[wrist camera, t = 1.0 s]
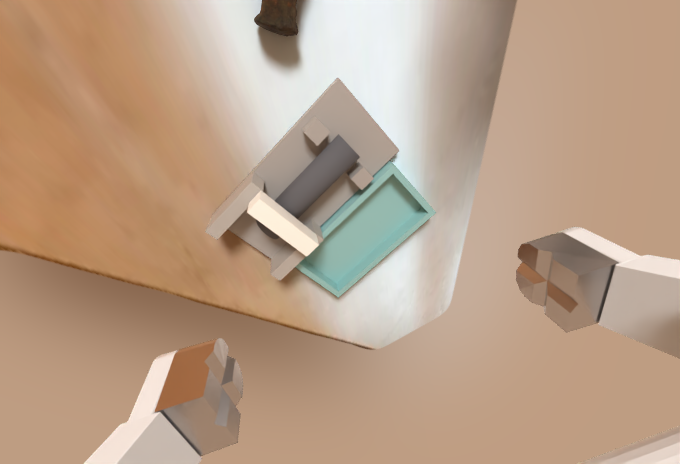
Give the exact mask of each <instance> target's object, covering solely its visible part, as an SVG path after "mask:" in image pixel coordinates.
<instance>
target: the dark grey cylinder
mask: <svg viewBox="0 0 680 464" xmlns="http://www.w3.org/2000/svg"><path fill="white" fill-rule="evenodd" d="M359 158H360V156H359V155H358V154H357V153H356V152H355V151H354V150H353V149H352V148H351V147H350V146H349V145H348V144H347V142H346V141H345V140H344V139H343V138H342V137H341V136H340V135H339V134H338V135H337V136H336V137H335V138H334V139H333V140H332V142H331V143H330V144H329V145H328V146H327V147H326V148H325V149H324V150H323V151H322V152H321V153H320V154H319V155H318V156H317V157H316V158H315V159H314V160H313V161H312V162H311V163H310V164H309V165H308V166H307V167H306V168H305V169H304V171H303V172H302V173H301V174H300V175H299V176H298V177H297V178H296V179H295V180H294V181H293V182H292V183H291V184H290V185H289V186H288V187H287V188H286V189H285V190H284V191H283V192H282V193H281V194H280V195H279V196H278V197H277V198H276V200H275V202H276V203H278V204H279V205H280V206H281V207H283V208H284V209H285V210H286V211H288V212H289V213H290V214H291V215H293V216H294V217H295V218H296V219H298V218H299V217H300V216H301V215H302V214H303V213H304V212H305V211H306V210H307V209H308V208H309V207H310V206H311V205H312V204H313V203H314V202H315V201H316V200H317V199H318V198H319V197H320V196H321V195H322V194H323V193H324V192H325V191H326V190H328V189H329V188H330V187H331V186H332V185H333V184H334V183H335V182H336V181H337V180H338V179H339V178H340V177H341V176H342V175H343V174H344V173H345V172H346V171H347V170H348V169H349V168H350V167H351V166H352V165H353V164H354V163H355V162H356V161H357V160H358V159H359ZM256 223H257V225H258V227H259V228H260V229H261V230H262V231H263V232H264V233H265V234H266V235H267V236H269V237H270V238H272V239H278V238H279V237H280V236H278V235H277V234H275V233H274V232H273V231H271V230H270V229H269V228H267V227H266V226H265V225H263V224H262V223H261V222H259V221H258V220H257V219H256Z"/></svg>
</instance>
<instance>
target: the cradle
mask: <svg viewBox="0 0 680 464" xmlns="http://www.w3.org/2000/svg"><path fill="white" fill-rule="evenodd" d="M338 134H339V135H340V136H341V137H342V138H343V139H344V140H345V141H346V142H347V144H348V145H349V146H350V147H351V148H352V149H353V150H354V151H355V152H356V153H357V154H358V155H359V156H360V158H359V159H358V160H357V161H356V162H355V163H354V164H353V165H352V166H351V167H350V168H349V169H348V170H347V171H346V172H345V173H344V174H343V175H342V176H341V177H340V178H339V179H338V180H337V181H336V182H335V183H334V184H333V185H332V186H331V187H330V188H329V189H328V190H326V191H325V192H324V193H323V194H322V195H321V196H320V197H319V198H318V199H317V200H316V201H315V202H314V203H313V204H312V205H311V206H310V207H309V208H308V209H307V210H306V211H305V212H304V213H303V214H302V215H301V216H300V217H299V218H298V220H299V221H300V222H301V223H303V224H304V225H305V226H306V227H308V228H309V229H310V230H311V231H313V232H314V233H315V234H316V235H317V239H318V243H319V244H320V243H321V242H322V241H323V240H324V239H323V235H322V231H321V228H320V226H321V225H322V224H323V223H324V222H325V221H326V220H328V219H329V218H330V217H331V216H332V215H333V214H334V213H335V212H336V211H337V210H338V209H339V208H340V207H341V206H342V205H343V204H344V203H345V202H346V201H347V200H348V199H349V198H350V197H351V196H353V195H354V194H355V193H356V192H357V191H358V190H359V189H361V190H363V189H364V188H365V187H366V186H367V185H368V184H369V183H370V182H371V181H372V180H373V179H374V178H373V175H374V174H375V173H376V172H378V171H379V170H380V169H381V168H382V167H383V166H384V165H385V164H386V163H387V162H388V161H389V160H390V159H391V158H392V157H393V156H394V155H395V154H396V153H397V152H398V151H399V149H398V148H397V147H396V146H395V144H394V143H393V142H392V141H391V140H390V139H389V137H388V136H387V135H386V134H385V133H384V131H383V130H382V129H381V128H380V127H379V125H378V124H377V123H376V122H375V121H374V120H373V118H372V117H371V116H370V115H369V114H368V112H367V111H366V110H365V109H364V108H363V106H362V105H361V104H360V103H359V102H358V100H357V99H356V98H355V97H354V96H353V95H352V93H351V92H350V91H349V90H348V89H347V87H346V86H345V85H344V84H343V83H342V81H341V80H340V79H339V78H337V79H336V80H335V81H334V82H333V83H332V84H331V85H330V86H329V87H328V88H327V89H326V91H325V92H324V93H323V94H322V95H321V96H320V97H319V98H318V99H317V100H316V102H315V103H314V104H313V105H312V106H311V107H310V108H309V109H308V110H307V111H306V112H305V114H304V115H303V116H302V117H301V118H300V119H299V120H298V121H297V122H296V123H295V124H294V126H293V127H292V128H291V129H290V130H289V131H288V132H287V133H286V134H285V135H284V137H283V138H282V139H281V140H280V141H279V142H278V143H277V144H276V145H275V146H274V147H273V149H272V150H271V151H270V152H269V153H268V154H267V155H266V156H265V157H264V158H263V159H262V161H261V162H260V163H259V164H258V165H257V166H256V167H255V168H254V169H253V170H252V172H251V173H250V174H249V175H248V176H247V177H246V178H245V179H244V180H243V181H242V182H241V184H240V185H239V186H238V187H237V188H236V189H235V190H234V191H233V192H232V193H231V195H230V196H229V197H228V198H227V199H226V200H225V201H224V202H223V203H222V204H221V205H220V207H219V208H218V209H217V210H216V211H215V212H214V213H213V215H212V217H211V219H210V222H209V224H208V226H207V228H206V231H205V232H206V233H208V234H209V235H211V236H212V237H214V238H215V239H217V240H218V239H219V238H220V236H221V235H222V234H223V233H224V232H225V231H226V230H227V229H228V230H230V231H231V232H232V233H234V234H235V235H237V236H238V237H240V238H241V239H243V240H244V241H246V242H247V243H249V244H250V245H252V246H253V247H254V248H256V249H257V250H259V251H260V252H262V253H263V254H265V255H266V256H268V257H269V258H271V275H272V276H274V277H275V278H277V279H278V280H280V281H281V280H282V279H283V278H284V277H285V276H286V275H287V274H288V273H289V272H290V271H291V270H292V269H293V268H295V267H296V266H297V265H298V264H299V263H300V262H301V261H302V260H303V259H304V258H305V257H306V256H305V255H304V254H303V253H301V252H300V251H298V250H297V249H296V248H294V247H293V246H292V245H290V244H289V243H288V242H286V241H285V240H284V239H282V238H281V237H279V238H278V239H272V238H270V237H269V236H267V235H266V234H265V233H264V232H263V231H262V230H261V229H260V228H259V227H258V225H257V223H256V219H255V218H254V217H253V216H251V215H250V214H248V213H247V210H248V205H249V202H250V201H251V200H252V199H253V198H254V197H255V196H256V195H257V194H258V193H259V192H260V191H263V192H264V193H265V194H266V195H268V196H269V197H270V198H271V199H273V200H274V201H275V200H276V198H277V197H278V196H279V195H280V194H281V193H282V192H283V191H284V190H285V189H286V188H287V187H288V186H289V185H290V184H291V183H292V182H293V181H294V180H295V179H296V178H297V177H298V176H299V175H300V174H301V173H302V172H303V171H304V169H305V168H306V167H307V166H308V165H309V164H310V163H311V162H312V161H313V160H314V159H315V158H316V157H317V156H318V155H319V154H320V153H321V152H322V151H323V150H324V149H325V148H326V147H327V146H328V145H329V144H330V143H331V142H332V140H333V139H334V138H335V137H336V136H337V135H338Z"/></svg>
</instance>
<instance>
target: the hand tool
mask: <svg viewBox="0 0 680 464" xmlns="http://www.w3.org/2000/svg"><path fill="white" fill-rule="evenodd" d="M296 2H297V0H262V5H261V11H260V14H258V15H257V16H256V17H255V18H254V21H255V23H256V24H257V25H259V26H261V27H263V28H265V29H267V30H269V31H272V32H275V33H277V34H280V35H284V36H292V35H297V33H298V29H297V25H296V15H297V11H296Z"/></svg>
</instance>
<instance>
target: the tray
mask: <svg viewBox="0 0 680 464" xmlns="http://www.w3.org/2000/svg"><path fill="white" fill-rule="evenodd" d="M373 178H374V179H373V180H372V181H371V182H370V183H369V184H368V185H367V186H366V187H365V188H364V189H363V190H361V189H359V190H358V191H357V192H356V193H355V194H354V195H353V196H351V197H350V198H349V199H348V200H347V201H346V202H345V203H344V204H343V205H342V206H341V207H340V208H339V209H338V210H337V211H336V212H335V213H334V214H333V215H332V216H331V217H330V218H329V219H328V220H326V221H325V222H324V223H323V224H322V225H321V226H320V228H321V231H322V235H323V239H324V240H323V241H322V242H321V243H320V244H319V246H318V247H317V248H315V249H314V250H313V251H312V252H311V253H310V254H309V255H308V256H306V257H305V258H304V259H303V260H302V261H301V262H300V263H299V264H298V265H297V266H296V267H295V268H297V269H298V270H300V271H301V272H302V273H304V274H305V275H307V276H308V277H310V278H311V279H312V280H314V281H315V282H317V283H318V284H320V285H321V286H322V287H324V288H325V289H327V290H328V291H330V292H331V293H332V294H334V295H335V296H337V297H338V298H339V297H340V296H341V295H342V294H343V293H344V292H345V291H347V290H348V289H349V288H350V287H351V286H352V285H354V284H355V283H356V282H357V281H358V280H359V279H360V278H362V277H363V276H364V275H365V274H366V273H367V272H368V271H370V270H371V269H372V268H373V267H374V266H375V265H377V264H378V263H379V262H380V261H381V260H382V259H383V258H385V257H386V256H387V255H388V254H389V253H390V252H391V251H393V250H394V249H395V248H396V247H397V246H398V245H399V244H401V243H402V242H403V241H404V240H405V239H406V238H408V237H409V236H410V235H411V234H412V233H413V232H414V231H416V230H417V229H418V228H419V227H420V226H421V225H422V224H424V223H425V222H426V221H427V220H428V219H429V218H431V217H432V216H433V215H434V214H435V213H436V212H435V211H434V210H433V208H432V207H431V206H430V205H429V204H428V203H427V202H426V200H425V199H424V198H423V197H422V196H421V195H420V194H419V193H418V191H417V190H416V189H415V188H414V187H413V186H412V185H411V183H410V182H409V181H408V180H407V179H406V178H405V177H404V175H403V174H402V173H401V172H400V171H399V170H398V169H397V168H396V166H395V165H394V164H393V163H391V162H390V161H388V162H387V163H386V164H385V165H384V166H383V167H382V168H381V169H380V170H379V171H378V172H376V173H375V174H374V175H373Z"/></svg>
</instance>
